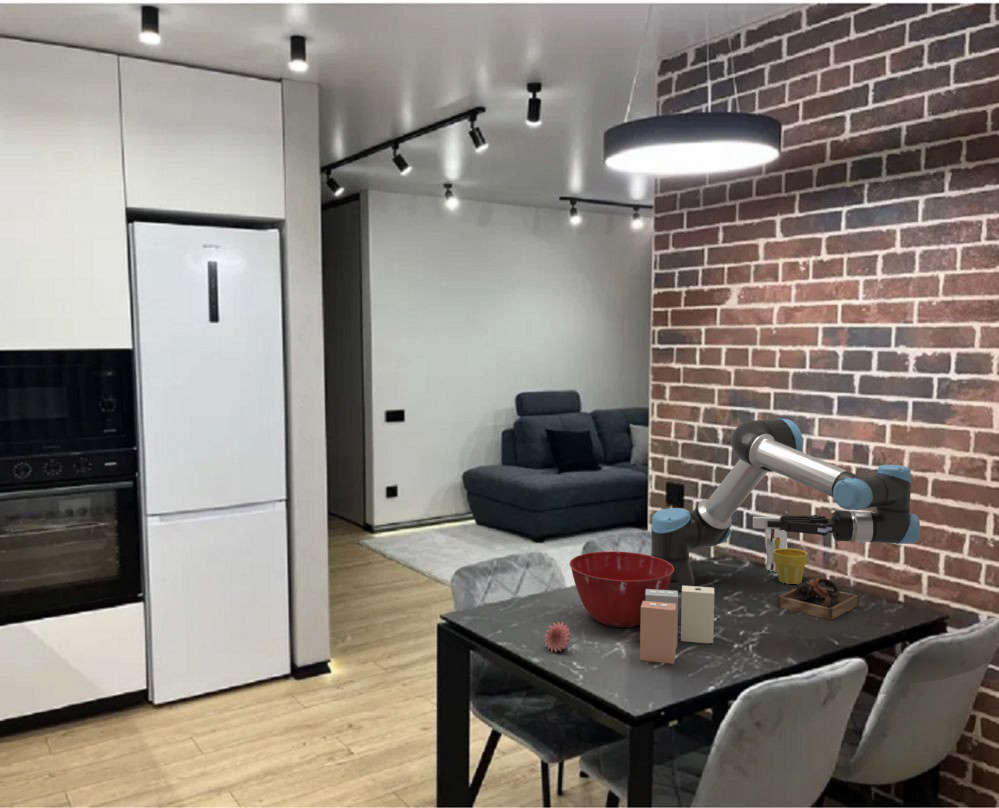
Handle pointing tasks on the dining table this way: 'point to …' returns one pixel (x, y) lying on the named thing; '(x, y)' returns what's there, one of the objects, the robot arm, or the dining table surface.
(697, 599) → the cream block
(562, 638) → the flower
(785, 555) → the plant pot
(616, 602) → the mixing bowl
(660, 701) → the dining table surface
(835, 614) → the walnut frame
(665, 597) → the grey block
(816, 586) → the pottery mug
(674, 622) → the terracotta block
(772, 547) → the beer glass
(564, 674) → the dining table surface
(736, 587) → the dining table surface
